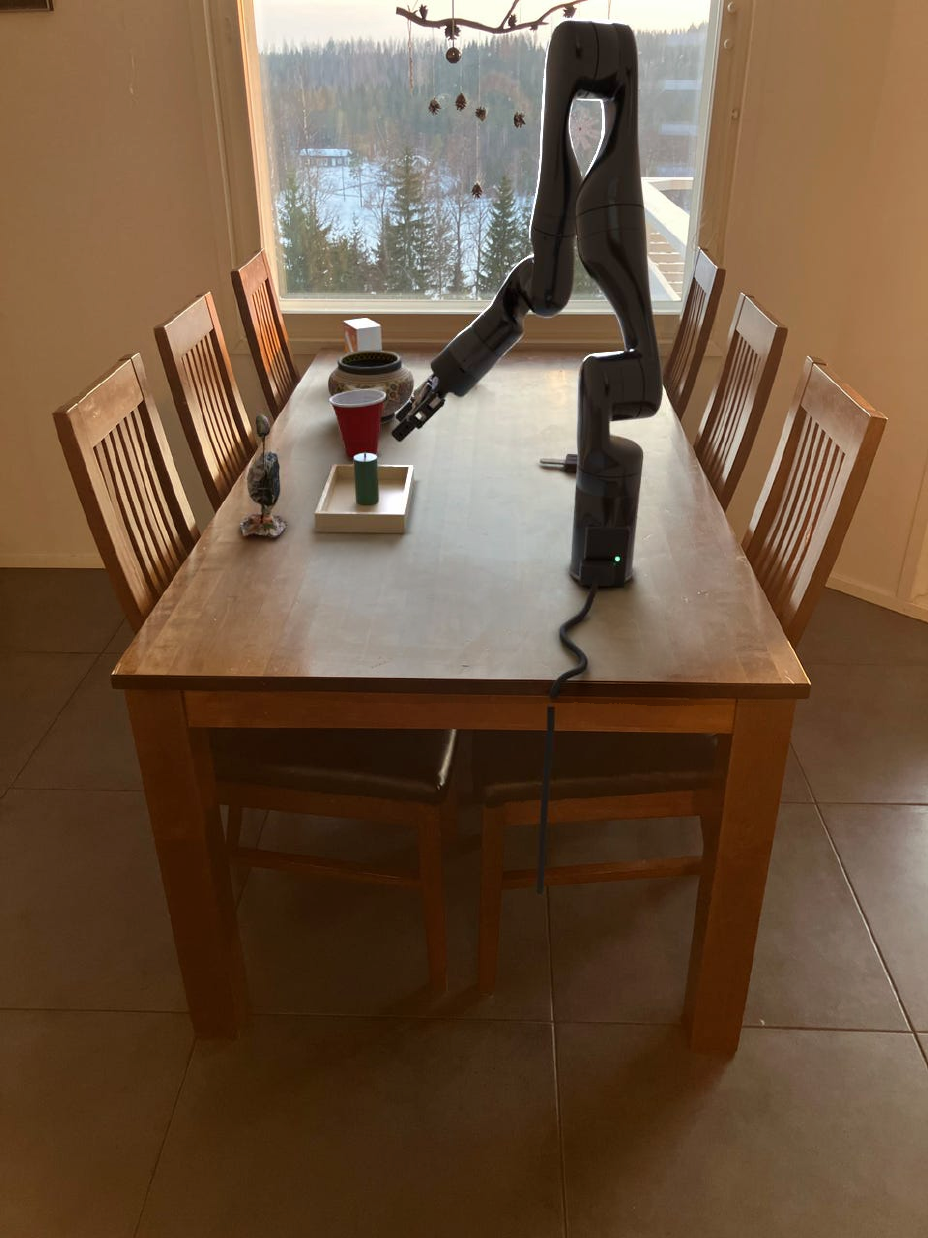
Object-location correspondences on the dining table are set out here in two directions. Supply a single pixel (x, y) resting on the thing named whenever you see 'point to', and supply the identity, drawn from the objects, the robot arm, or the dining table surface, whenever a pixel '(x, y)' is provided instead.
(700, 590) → the dining table surface
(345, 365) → the ceramic bowl
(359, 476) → the green candle
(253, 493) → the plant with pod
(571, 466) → the ice cream bar
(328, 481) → the wooden tray
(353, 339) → the small box
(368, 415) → the plastic cup
